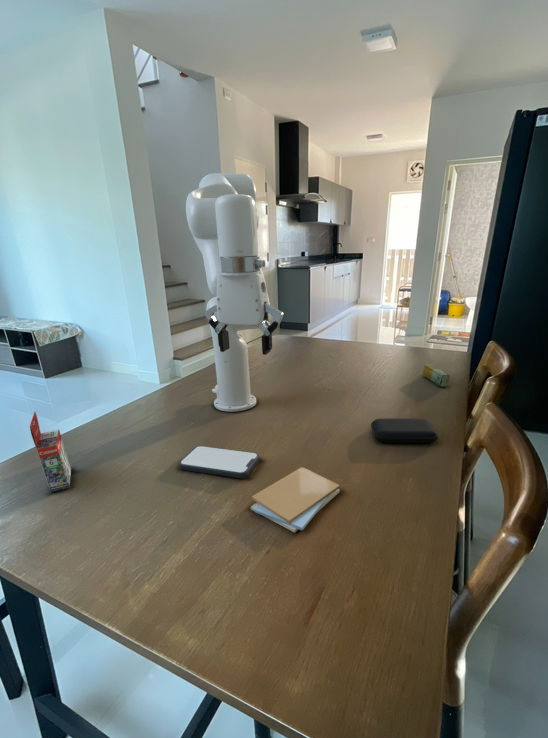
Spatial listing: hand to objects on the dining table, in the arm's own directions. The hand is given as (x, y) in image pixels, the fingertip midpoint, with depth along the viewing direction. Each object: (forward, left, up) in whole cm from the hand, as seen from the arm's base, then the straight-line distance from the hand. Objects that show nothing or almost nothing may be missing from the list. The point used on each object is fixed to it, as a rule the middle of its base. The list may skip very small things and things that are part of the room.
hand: (245, 351), depth 81 cm
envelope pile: (+21, -10, -23) cm, 33 cm away
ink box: (-22, -34, -23) cm, 47 cm away
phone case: (0, -10, -23) cm, 25 cm away
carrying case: (+26, +26, -23) cm, 43 cm away
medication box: (+19, +69, -23) cm, 75 cm away
